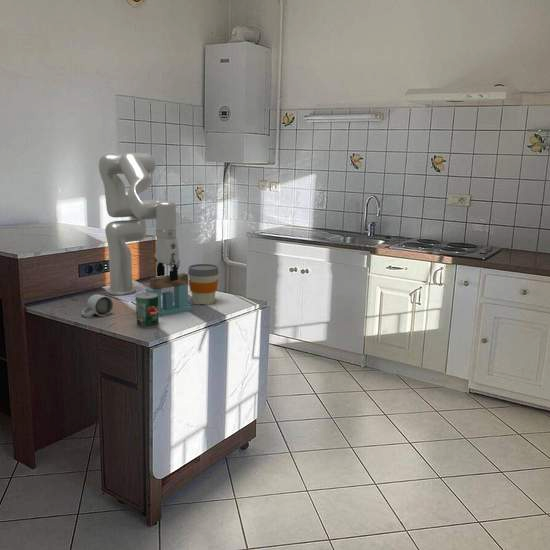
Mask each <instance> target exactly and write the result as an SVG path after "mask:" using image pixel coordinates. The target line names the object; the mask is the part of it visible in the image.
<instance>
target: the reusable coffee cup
mask: <svg viewBox="0 0 550 550" xmlns="http://www.w3.org/2000/svg"><path fill="white" fill-rule="evenodd" d="M187 272H188V273H187V274H188V286H189V290H190V292H191V298H192V303H193V302H194V303H193V304H195V305H200V304H204V305H205V304H206V305H212V304H214V303H215V298H216V292H217V290H218V283H219V282H218V281H219V279H218V275H219V266H218V265H215V264H210V263H197V264H191V265H189V266H188V271H187ZM211 303H212V304H211ZM204 305H203V306H204Z"/></svg>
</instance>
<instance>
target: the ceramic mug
mask: <svg viewBox="0 0 550 550" xmlns="http://www.w3.org/2000/svg"><path fill="white" fill-rule="evenodd" d="M86 305H87V307H86V308H84V309H83V310H82V312H81V314H82V316H83V317H84V318H89V317H92V316H93V315H98V316H99V317H106V315H107V316H108V315H110V314H111V313H112V311H113V309H114V302H113V300H112V299H111V297H109V296H107V295H102V294H99V293H98V294H93V295H91V296H90V297H89V298H88V299H87V303H86Z"/></svg>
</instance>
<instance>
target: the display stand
mask: <svg viewBox="0 0 550 550" xmlns="http://www.w3.org/2000/svg"><path fill="white" fill-rule="evenodd" d="M145 290H146V292H145V293H156V294H158V314H159V315H158V316H161V317H165V315H166V316H170V315H175V314H180V312H181V313H186V312H190V311H192V310H193V309H192V308H193V307H192V306H191V305H189V284H188V285H182V286H175V287H173V292H171V291H163V292H162V289H157V290H153V289H151V288H147V287H146V288H145ZM161 292H162V294H161Z"/></svg>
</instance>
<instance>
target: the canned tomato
mask: <svg viewBox="0 0 550 550" xmlns="http://www.w3.org/2000/svg"><path fill="white" fill-rule="evenodd" d="M135 309H136V314H135V315H136V326H137V327H138V326H139V327H138V328H142V327H150V328H155V327H157V325H158V326H159V325H160V323H159V319H160V317H159V316H158V315H159V314H158V294H156V293H146V292H140V293H137V294H136V295H135ZM154 326H155V327H154Z"/></svg>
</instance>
